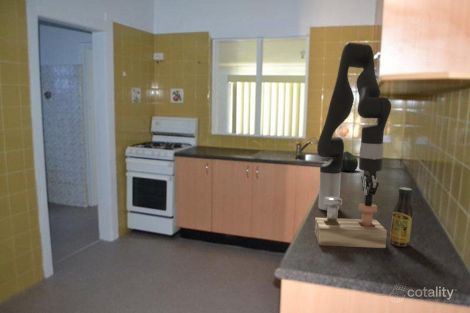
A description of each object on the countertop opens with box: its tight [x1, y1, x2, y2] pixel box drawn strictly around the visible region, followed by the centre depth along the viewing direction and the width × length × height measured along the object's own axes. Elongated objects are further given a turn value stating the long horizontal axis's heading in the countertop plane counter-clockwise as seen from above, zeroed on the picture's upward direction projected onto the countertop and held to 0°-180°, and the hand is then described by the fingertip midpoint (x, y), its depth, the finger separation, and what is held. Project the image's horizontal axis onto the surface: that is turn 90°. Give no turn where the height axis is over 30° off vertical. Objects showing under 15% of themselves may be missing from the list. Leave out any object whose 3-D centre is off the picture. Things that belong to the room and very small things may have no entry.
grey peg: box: [324, 197, 343, 222], centre depth 130 cm, size 6×6×8 cm
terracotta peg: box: [358, 202, 378, 227], centre depth 130 cm, size 6×6×8 cm
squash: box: [341, 150, 359, 173], centre depth 274 cm, size 14×15×15 cm
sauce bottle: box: [389, 186, 414, 248], centre depth 127 cm, size 7×6×20 cm
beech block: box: [314, 217, 388, 249], centre depth 131 cm, size 12×22×6 cm, turn 86°
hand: (367, 205), depth 129 cm, fingers closed
